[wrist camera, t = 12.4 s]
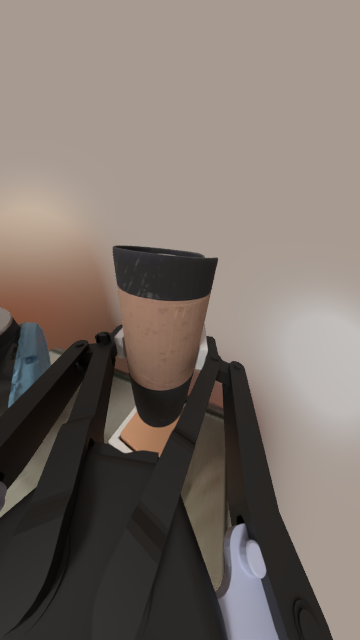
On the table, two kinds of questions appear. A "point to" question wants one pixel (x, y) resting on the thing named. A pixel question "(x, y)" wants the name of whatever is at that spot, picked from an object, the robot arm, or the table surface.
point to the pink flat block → (146, 435)
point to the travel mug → (162, 324)
